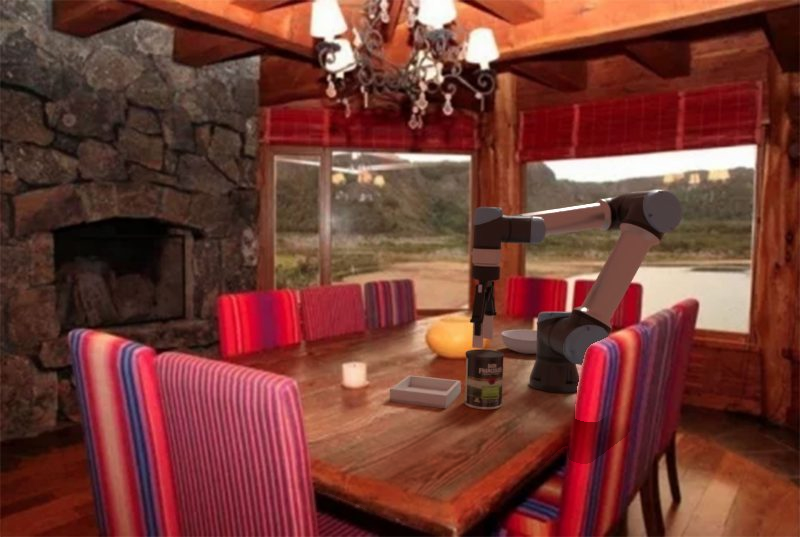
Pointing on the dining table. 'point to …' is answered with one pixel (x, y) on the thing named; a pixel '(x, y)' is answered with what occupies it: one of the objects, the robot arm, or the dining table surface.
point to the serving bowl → (520, 340)
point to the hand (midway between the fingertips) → (482, 343)
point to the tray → (425, 391)
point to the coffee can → (484, 379)
